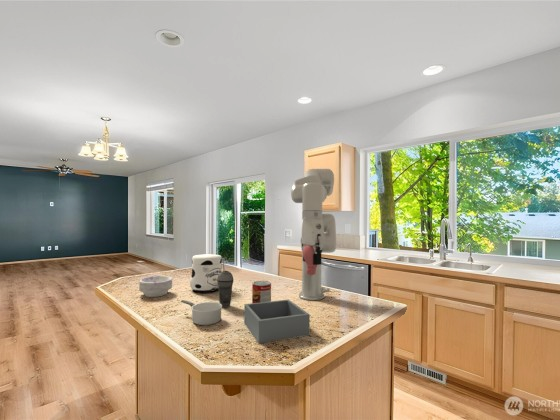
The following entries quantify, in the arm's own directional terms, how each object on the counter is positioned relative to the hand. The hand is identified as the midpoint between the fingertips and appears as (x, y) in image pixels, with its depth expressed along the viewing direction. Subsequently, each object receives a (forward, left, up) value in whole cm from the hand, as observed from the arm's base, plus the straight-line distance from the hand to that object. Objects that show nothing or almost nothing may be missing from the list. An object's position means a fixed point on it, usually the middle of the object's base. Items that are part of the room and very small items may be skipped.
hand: (311, 262), depth 107 cm
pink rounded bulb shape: (0, 0, -5) cm, 5 cm away
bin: (+14, 0, -23) cm, 27 cm away
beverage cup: (+26, -31, -23) cm, 47 cm away
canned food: (+13, -19, -23) cm, 33 cm away
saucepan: (+39, -20, -23) cm, 49 cm away
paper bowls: (+55, -61, -23) cm, 86 cm away
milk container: (+30, -62, -23) cm, 73 cm away
